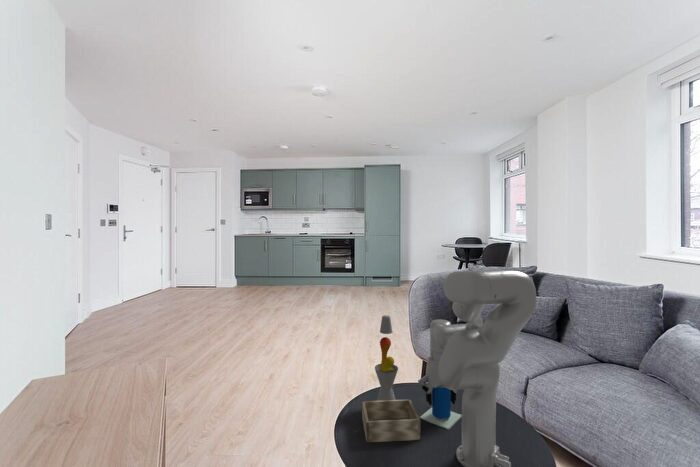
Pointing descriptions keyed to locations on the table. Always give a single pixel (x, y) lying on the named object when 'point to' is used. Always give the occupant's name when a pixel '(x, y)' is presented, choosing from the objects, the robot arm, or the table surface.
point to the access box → (390, 428)
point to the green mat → (442, 423)
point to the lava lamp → (386, 363)
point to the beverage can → (441, 403)
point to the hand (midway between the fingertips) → (440, 402)
